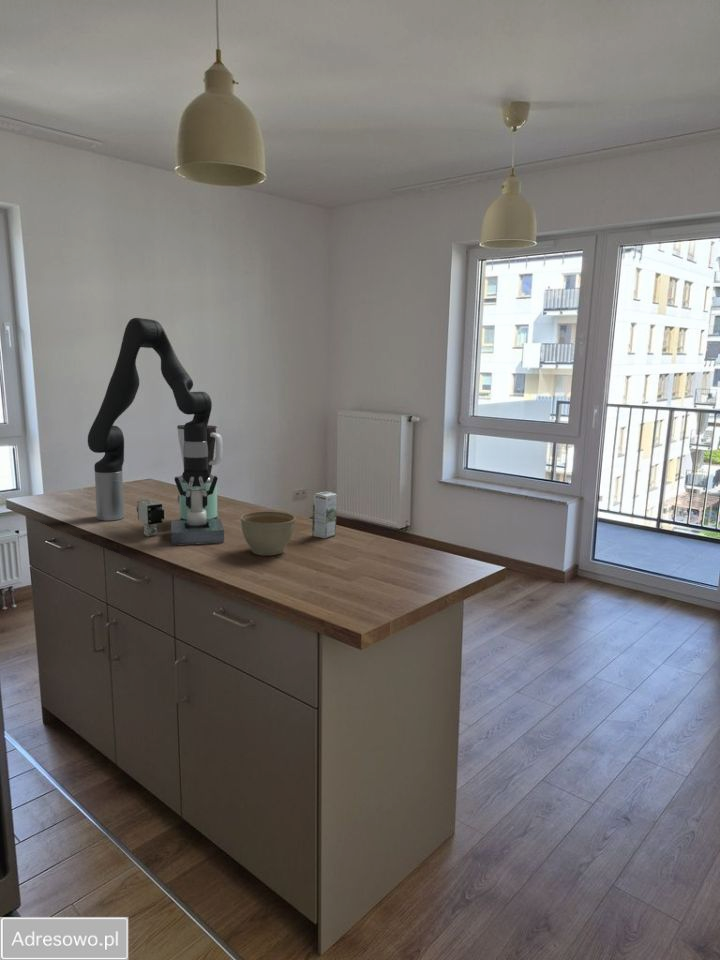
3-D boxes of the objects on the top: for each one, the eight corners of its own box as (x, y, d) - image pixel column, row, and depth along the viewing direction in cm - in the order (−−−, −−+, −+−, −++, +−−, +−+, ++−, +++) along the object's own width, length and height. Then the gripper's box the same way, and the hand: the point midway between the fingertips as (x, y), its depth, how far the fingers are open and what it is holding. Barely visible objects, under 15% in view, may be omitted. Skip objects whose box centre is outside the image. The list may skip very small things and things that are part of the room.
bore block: (171, 532, 214) (171, 520, 213) (220, 530, 218) (220, 518, 218) (171, 545, 199) (171, 532, 198) (224, 542, 203) (224, 530, 203)
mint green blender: (167, 522, 227) (164, 423, 221) (193, 515, 239) (191, 421, 233) (209, 529, 219) (208, 427, 213) (234, 521, 231) (233, 424, 225)
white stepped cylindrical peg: (187, 521, 210) (186, 488, 208) (206, 520, 212) (205, 487, 210) (187, 525, 204) (186, 492, 202) (206, 525, 206) (206, 491, 204)
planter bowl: (250, 562, 184) (250, 525, 182) (234, 547, 198) (234, 513, 196) (302, 556, 191) (303, 520, 189) (283, 542, 205) (283, 509, 203)
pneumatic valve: (150, 540, 204) (149, 503, 202) (136, 532, 213) (135, 496, 211) (167, 537, 208) (166, 501, 206) (153, 530, 217) (152, 495, 214)
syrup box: (322, 532, 218) (323, 490, 216) (336, 535, 215) (337, 493, 213) (311, 536, 214) (312, 493, 211) (325, 539, 211) (326, 495, 208)
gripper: (217, 453, 210) (218, 504, 213) (172, 453, 206) (173, 505, 209) (219, 456, 203) (219, 509, 206) (172, 456, 199) (173, 511, 202)
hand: (196, 507), depth 207 cm, fingers closed on white stepped cylindrical peg, 4 cm apart
